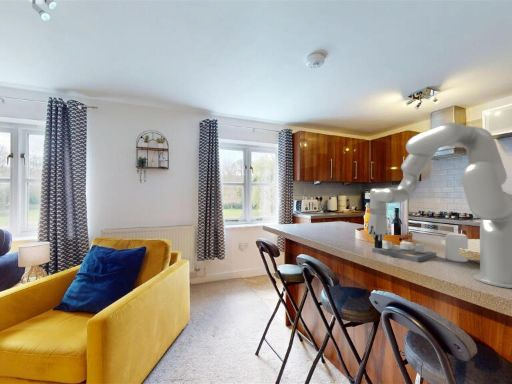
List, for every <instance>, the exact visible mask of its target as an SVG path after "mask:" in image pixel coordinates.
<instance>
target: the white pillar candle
mask: <svg viewBox="0 0 512 384" xmlns="http://www.w3.org/2000/svg"><path fill="white" fill-rule="evenodd" d="M468 241H469V239H468V237H467V235H466V234H462V233H456V232H455V233H453V232H450V233H449V232H448V233H446V235H445V236H444V258H445V259H446V260H448V261H450V262H455V263H465V262H466V263H467V262H468V261H469V258H468V259H466V258H464V257H463V256H461V255H460V254H458V251H457V250H458V249H459V248H462V249H469V243H468Z"/></svg>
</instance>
